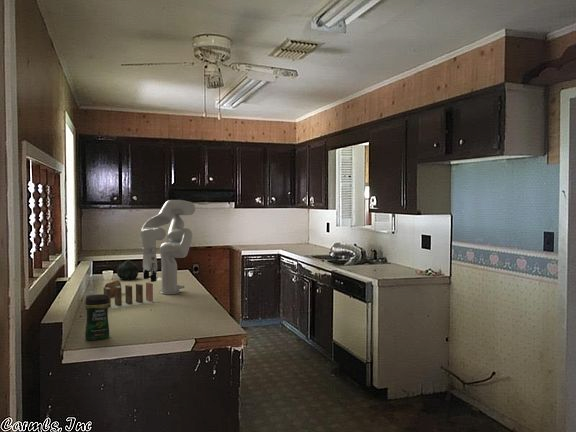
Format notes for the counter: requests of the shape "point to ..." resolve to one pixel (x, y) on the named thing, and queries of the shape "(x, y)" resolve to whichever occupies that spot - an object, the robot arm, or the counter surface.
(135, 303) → the mat
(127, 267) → the squash
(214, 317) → the counter surface
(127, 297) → the domino
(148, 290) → the domino
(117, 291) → the domino
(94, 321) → the coffee jar
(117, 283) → the tin
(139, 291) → the domino
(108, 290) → the domino
